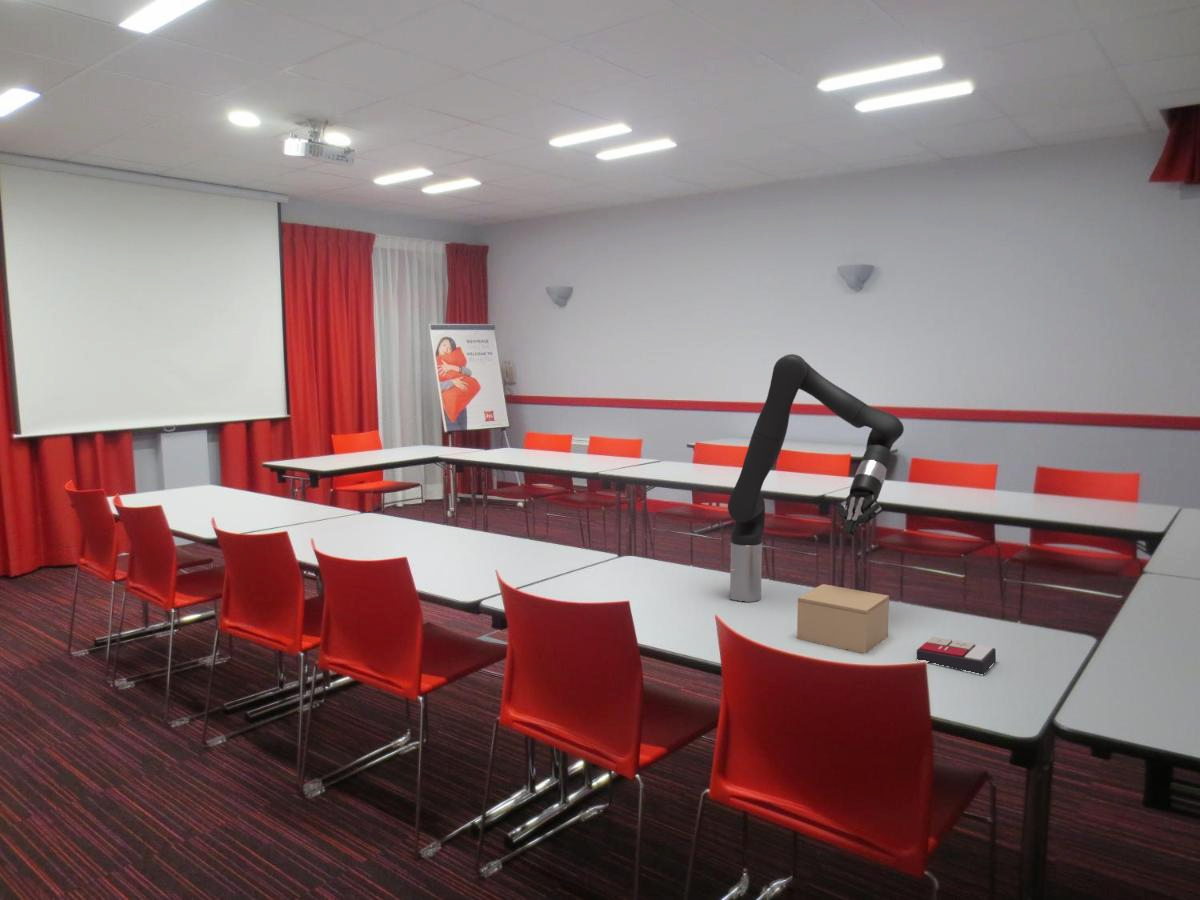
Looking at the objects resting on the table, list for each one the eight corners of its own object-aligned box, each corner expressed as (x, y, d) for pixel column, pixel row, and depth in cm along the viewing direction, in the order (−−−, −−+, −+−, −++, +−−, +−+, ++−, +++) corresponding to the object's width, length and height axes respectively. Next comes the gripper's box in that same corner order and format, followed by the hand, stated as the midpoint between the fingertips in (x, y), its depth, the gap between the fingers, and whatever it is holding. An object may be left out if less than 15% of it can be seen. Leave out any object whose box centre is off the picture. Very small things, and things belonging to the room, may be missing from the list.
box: (822, 622, 221) (823, 587, 220) (887, 636, 210) (889, 598, 209) (797, 638, 209) (797, 601, 208) (865, 653, 198) (866, 614, 196)
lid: (822, 586, 220) (822, 584, 220) (888, 598, 209) (888, 595, 209) (797, 600, 208) (797, 597, 208) (866, 613, 196) (866, 610, 196)
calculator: (931, 634, 201) (996, 645, 191) (931, 651, 202) (996, 662, 192) (915, 647, 193) (982, 658, 183) (916, 664, 193) (983, 677, 183)
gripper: (840, 472, 221) (820, 525, 214) (885, 473, 211) (865, 528, 204) (852, 487, 225) (832, 540, 218) (897, 489, 215) (878, 544, 208)
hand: (848, 534), depth 211 cm, fingers closed
